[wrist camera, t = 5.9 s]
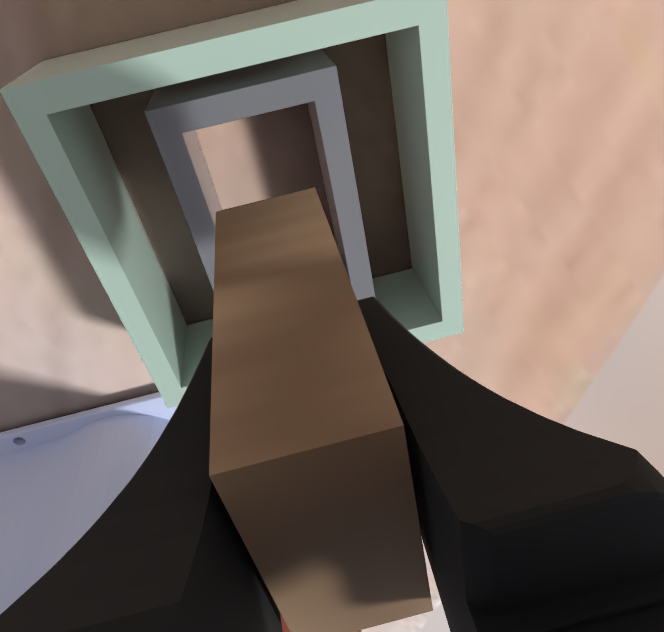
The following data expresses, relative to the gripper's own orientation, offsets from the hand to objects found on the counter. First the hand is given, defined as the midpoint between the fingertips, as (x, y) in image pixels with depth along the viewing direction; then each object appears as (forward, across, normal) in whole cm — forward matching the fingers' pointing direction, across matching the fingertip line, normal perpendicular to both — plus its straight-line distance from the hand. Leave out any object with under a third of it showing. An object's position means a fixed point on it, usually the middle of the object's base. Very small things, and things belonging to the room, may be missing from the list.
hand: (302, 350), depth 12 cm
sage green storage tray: (+10, 0, 0) cm, 10 cm away
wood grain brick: (+3, 0, 0) cm, 3 cm away
